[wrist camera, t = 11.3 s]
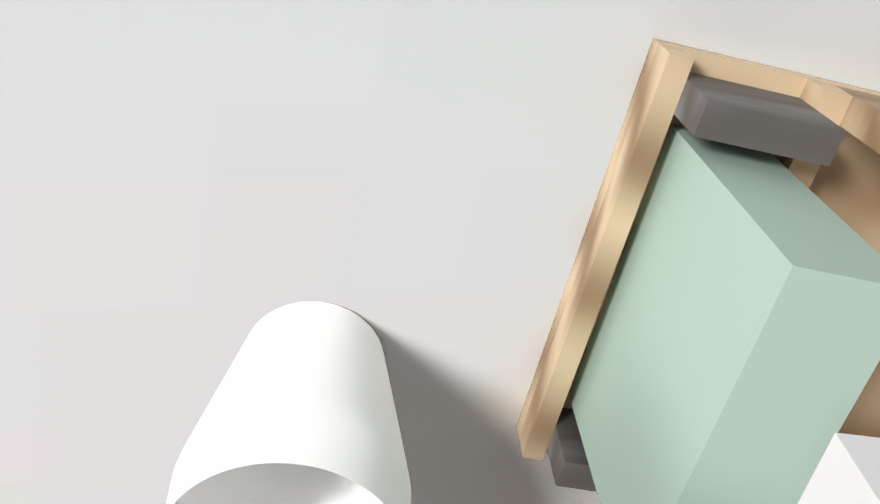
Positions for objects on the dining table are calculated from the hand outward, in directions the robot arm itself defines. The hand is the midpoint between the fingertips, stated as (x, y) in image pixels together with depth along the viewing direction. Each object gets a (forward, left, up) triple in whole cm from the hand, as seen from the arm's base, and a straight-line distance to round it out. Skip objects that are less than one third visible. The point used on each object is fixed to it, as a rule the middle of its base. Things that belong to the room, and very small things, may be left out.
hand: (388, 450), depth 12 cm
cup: (+15, -1, -24) cm, 28 cm away
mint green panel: (+7, +14, -23) cm, 27 cm away
